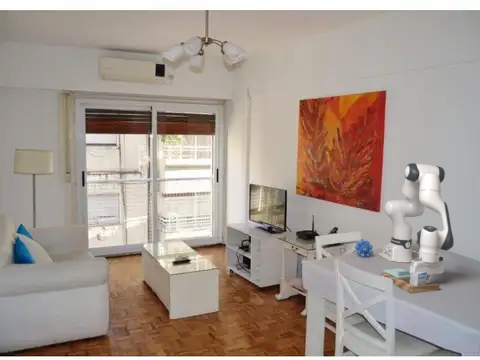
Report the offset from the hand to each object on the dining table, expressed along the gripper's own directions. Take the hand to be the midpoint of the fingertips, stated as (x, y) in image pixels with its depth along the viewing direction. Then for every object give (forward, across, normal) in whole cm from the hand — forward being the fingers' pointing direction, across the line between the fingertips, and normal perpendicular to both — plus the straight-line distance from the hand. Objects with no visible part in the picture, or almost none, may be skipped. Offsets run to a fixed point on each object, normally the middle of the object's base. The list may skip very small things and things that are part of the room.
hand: (425, 282), depth 234 cm
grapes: (+2, +1, +55) cm, 55 cm away
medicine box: (+2, -6, -1) cm, 7 cm away
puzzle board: (+2, -6, +5) cm, 9 cm away
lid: (-1, -6, +13) cm, 14 cm away
